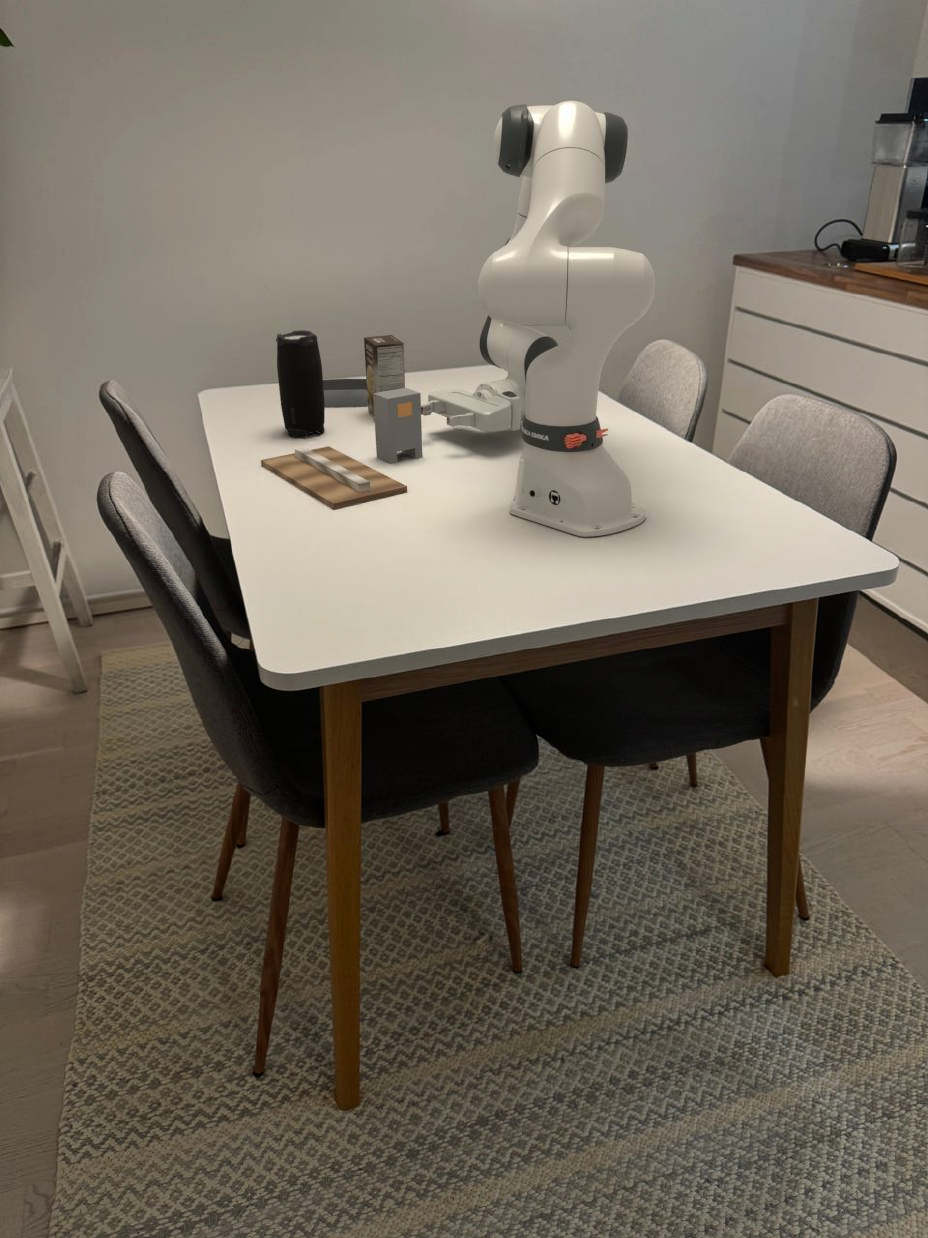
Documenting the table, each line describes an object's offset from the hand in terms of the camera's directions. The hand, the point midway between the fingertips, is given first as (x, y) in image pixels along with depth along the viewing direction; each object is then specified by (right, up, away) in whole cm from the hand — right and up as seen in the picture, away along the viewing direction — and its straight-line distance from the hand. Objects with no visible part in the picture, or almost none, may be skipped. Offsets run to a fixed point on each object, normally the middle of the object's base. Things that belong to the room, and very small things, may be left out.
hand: (434, 416), depth 173 cm
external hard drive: (-21, +11, +37) cm, 44 cm away
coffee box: (-11, +5, +24) cm, 27 cm away
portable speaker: (-27, -1, +14) cm, 30 cm away
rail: (-18, -13, -11) cm, 25 cm away
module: (-7, -8, -1) cm, 10 cm away
